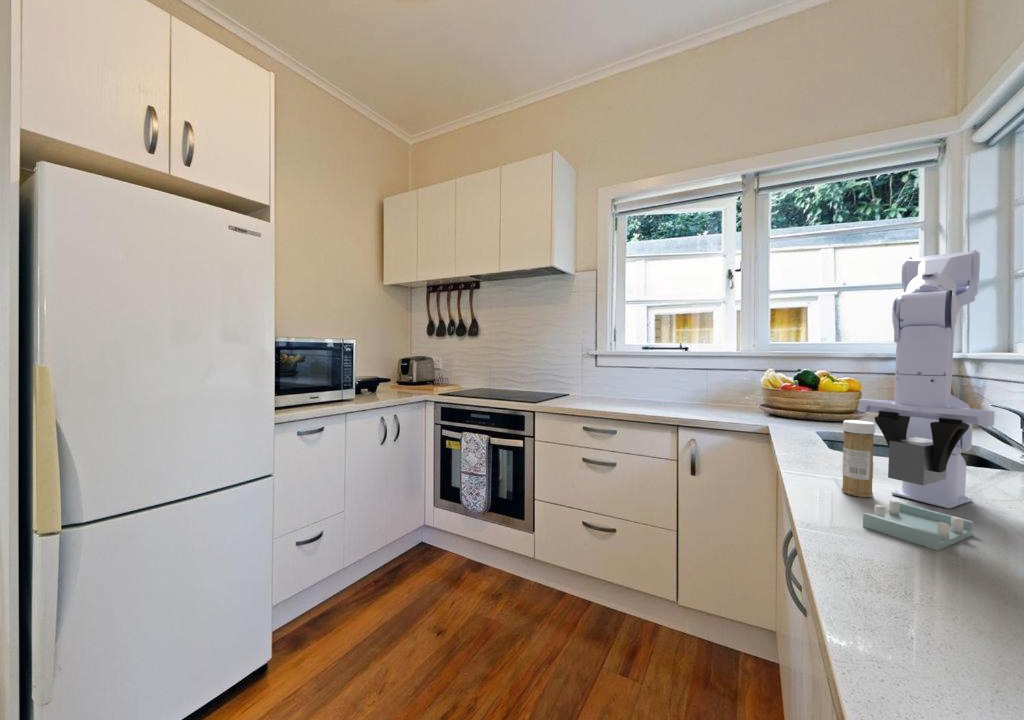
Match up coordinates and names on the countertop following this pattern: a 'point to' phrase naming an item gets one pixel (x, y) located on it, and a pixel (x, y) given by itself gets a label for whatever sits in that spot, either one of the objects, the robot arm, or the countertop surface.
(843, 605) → the countertop surface
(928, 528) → the tray
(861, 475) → the sprinkles bottle
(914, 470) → the dark grey block
